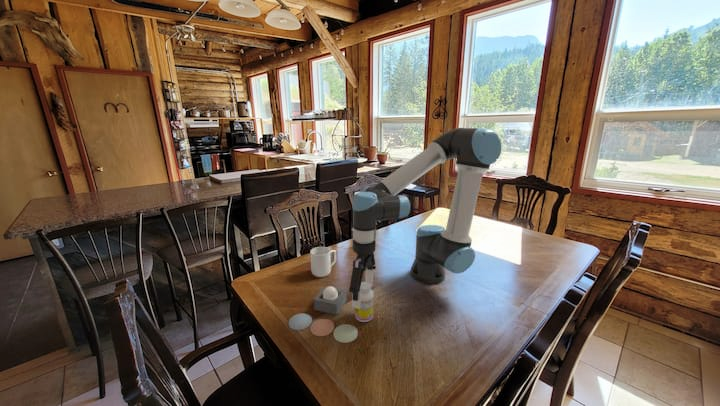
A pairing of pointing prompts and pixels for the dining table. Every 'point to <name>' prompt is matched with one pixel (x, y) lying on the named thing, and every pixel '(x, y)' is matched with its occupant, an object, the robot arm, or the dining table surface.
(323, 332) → the pad
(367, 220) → the robot arm
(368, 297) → the supplement bottle
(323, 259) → the mug
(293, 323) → the pad
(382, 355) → the dining table surface
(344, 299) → the housing
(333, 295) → the white ovoid
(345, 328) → the pad
